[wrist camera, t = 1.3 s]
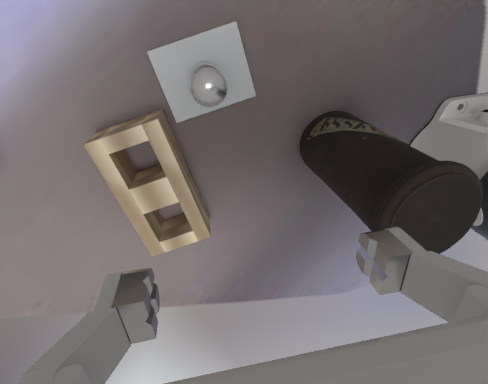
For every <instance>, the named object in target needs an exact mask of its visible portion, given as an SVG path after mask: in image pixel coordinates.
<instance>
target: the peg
mask: <svg viewBox="0 0 488 384" xmlns="http://www.w3.org/2000/svg"><path fill="white" fill-rule="evenodd" d="M191 93H192V96H193V98H194V99H195V101H196V102H197V103H199V104H200V105H202V106H205V107H214V106H217V105H219V104H220V103H221V102H222V101H223V100H224V99H225V97H226V94H227V83H226V80H225V78H224V77H223V75H222V74H221V73H220V72H219V71H218V69H217V68H216V67H215V66H214V65H213V64H212V63H211V62H209V61H199V62H197V63H196V64H195V65H194V66H193V68H192V71H191Z"/></svg>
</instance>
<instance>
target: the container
mask: <svg viewBox="0 0 488 384" xmlns="http://www.w3.org/2000/svg"><path fill="white" fill-rule="evenodd" d="M300 153H301V156H302V159H303V161H304V162H305V163H306V164H307V166H308V167H309V168H310V169H311V170H312V171H313V172H314V173H315V174H316V175H317V176H319V177H320V178H321V179H322V180H323V181H324V182H325V183H326V184H327V185H328V186H329V187H330V188H331V189H332V190H333V191H334V192H335V193H336V194H337V195H338V196H339V197H340V198H341V199H342V200H343V201H344V202H345V203H346V204H347V205H348V206H349V207H350V208H351V209H352V210H353V211H354V212H355V213H356V215H357V216H358V217H359V218H360V219H361V220H362V221H363V222H364V223H365V224H366V225H367V226H368V228H369V229H370V230H371V231H378V230H384V229H388V228H393V227H398V228H401V229H402V230H403V231H404V232H405V233H407V234H408V235H409V236H410V237H411V238H412V239H413V240H415V241H416V242H417V243H418V244H419V245H420V246H422V247H423V248H424V249H425V250H426V251H433V252H435V253H438V254H440V253H442V252H444V251H446V250H447V249H448V248H450V247H451V246H452V245H454V244H455V243H456V242H458V241H459V240H460V239H461V238H462V237H463V236H464V235H465V234H466V233H467V232H468V230H469V229H470V228H471V227H472V225H473V224H474V222H475V220H476V218H477V216H478V214H479V211H480V208H481V204H482V199H483V190H482V184H481V181H480V179H479V177H478V176H477V175H476V173H475V172H474V171H473V170H471V169H470V168H469V167H467V166H466V165H464V164H461V163H458V162H454V161H439V160H437V159H435V158H433V157H431V156H429V155H427V154H425V153H423V152H421V151H419V150H417V149H415V148H413V147H411V146H409V145H408V144H406V143H404V142H402V141H400V140H398V139H396V138H394V137H392V136H391V135H389V134H387V133H385V132H383V131H381V130H379V129H377V128H375V127H373V126H371V125H370V124H368V123H366V122H364V121H362V120H360V119H359V118H357V117H355V116H353V115H351V114H349V113H347V112H341V111H333V112H329V113H326V114H323V115H321V116H319V117H318V118H316V119H315V120H314V121H313V122H312V123H311V124H310V125H309V126H308V127H307V128H306V130H305V131H304V133H303V135H302V138H301V142H300Z"/></svg>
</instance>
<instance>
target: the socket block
mask: <svg viewBox="0 0 488 384" xmlns="http://www.w3.org/2000/svg"><path fill="white" fill-rule="evenodd" d="M146 141H149V142H150V144H151V146H152V148H153V150H154V152H155V154H156V156H157V158H158V160H159V162H160V164H159V165H156V166H153V167H150V168H147V169H144V170H141V171H138V172H136V170H135V168H134V166H133V164H132V163H131V161H130V159H129V157H128V155H127V153H126V152H125V150H124V149H125V148H128V147H131V146H134V145H137V144H140V143H143V142H146ZM83 145H84V146H85V148H86V150H87V151H88V153H89V155H90V156H91V158H92V159H93V161H94V163H95V164H96V166H97V168H98V169H99V171H100V172H101V174H102V176H103V177H104V179H105V181H106V182H107V184H108V186H109V187H110V189H111V190H112V192H113V194H114V195H115V197H116V199H117V200H118V202H119V203H120V205H121V207H122V208H123V210H124V212H125V213H126V215H127V216H128V218H129V220H130V221H131V223H132V225H133V226H134V228H135V229H136V231H137V233H138V234H139V236H140V238H141V239H142V241H143V242H144V244H145V246H146V247H147V249H148V251H149V252H150V254H151V255H152V257H153V256H156V255H159V254H162V253H165V252H168V251H171V250H174V249H177V248H180V247H183V246H185V245H188V244H191V243H194V242H197V241H200V240H203V239H206V238H209V237H211V233H210V221H209V215H208V213H207V210H206V208H205V206H204V203H203V201H202V199H201V197H200V194H199V192H198V190H197V187H196V185H195V183H194V181H193V178H192V176H191V174H190V171H189V169H188V167H187V165H186V162H185V160H184V158H183V155H182V153H181V151H180V149H179V146H178V144H177V142H176V139H175V137H174V135H173V133H172V130H171V128H170V126H169V123H168V121H167V119H166V117H165V114H164V112H163V110H162V109H160V110H158V111H155V112H152V113H149V114H146V115H143V116H140V117H137V118H134V119H131V120H128V121H125V122H123V123H120V124H117V125H114V126H111V127H108V128H105V129H102V130H99V131H97V132H96V133H95V134H94V135H93V136H92V137H91V138H90V139H89V140H88V141H87V142H86V143H85V144H83ZM178 202H179V203H180V205H181V207H182V209H183V211H184V214H181V215H178V216H175V217H172V218H169V219H166V220H162V218H161V216H160V214H159V212H158V211H157V209H160V208H163V207H166V206H169V205H172V204H175V203H178Z"/></svg>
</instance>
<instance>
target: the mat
mask: <svg viewBox="0 0 488 384" xmlns="http://www.w3.org/2000/svg"><path fill="white" fill-rule="evenodd" d="M147 54H148V56H149V58H150V61H151V63H152V66H153V68H154V70H155V73H156V75H157V77H158V80H159V82H160V84H161V87H162V89H163V92H164V94H165V96H166V99H167V101H168V103H169V106H170V108H171V111H172V113H173V115H174V118H175V120H176V122H177V123H179V122H182V121H184V120H187V119H190V118H193V117H196V116H199V115H202V114H205V113H208V112H211V111H214V110H217V109H219V108H222V107H225V106H228V105H231V104H234V103H237V102H240V101H243V100H246V99H249V98H252V97H254V96H256V94H255V90H254V86H253V82H252V78H251V75H250V71H249V67H248V63H247V60H246V56H245V52H244V48H243V45H242V41H241V37H240V33H239V30H238V26H237V22H236V21H235V22H232V23H229V24H226V25H223V26H220V27H217V28H214V29H211V30H209V31H206V32H203V33H200V34H197V35H194V36H191V37H188V38H185V39H182V40H179V41H177V42H174V43H171V44H168V45H165V46H162V47H159V48H156V49H153V50H150V51H147ZM199 61H209V62H211V63H212V64H213V65H214V66H215V67H216V68H217V69H218V71H219V72H220V73H221V74H222V75H223V77H224V78H225V80H226V83H227V94H226V97H225V99H224V100H223V101H222V102H221V103H220V104H219V105H217V106H214V107H205V106H202V105H200V104H199V103H197V102H196V101H195V99H194V98H193V96H192V93H191V71H192V68H193V66H194V65H195V64H196V63H197V62H199Z"/></svg>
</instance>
